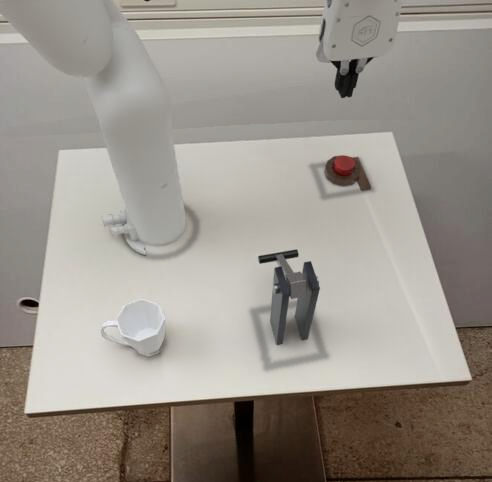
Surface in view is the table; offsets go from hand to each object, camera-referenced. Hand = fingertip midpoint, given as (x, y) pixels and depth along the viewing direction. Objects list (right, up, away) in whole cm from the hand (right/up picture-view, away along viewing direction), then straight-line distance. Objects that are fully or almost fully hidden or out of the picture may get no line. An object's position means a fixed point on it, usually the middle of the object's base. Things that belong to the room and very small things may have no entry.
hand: (343, 91), depth 79 cm
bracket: (-9, -38, 0) cm, 39 cm away
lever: (-10, -30, -8) cm, 33 cm away
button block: (+3, -9, +15) cm, 18 cm away
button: (+3, -8, +13) cm, 16 cm away
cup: (-32, -40, -1) cm, 51 cm away
